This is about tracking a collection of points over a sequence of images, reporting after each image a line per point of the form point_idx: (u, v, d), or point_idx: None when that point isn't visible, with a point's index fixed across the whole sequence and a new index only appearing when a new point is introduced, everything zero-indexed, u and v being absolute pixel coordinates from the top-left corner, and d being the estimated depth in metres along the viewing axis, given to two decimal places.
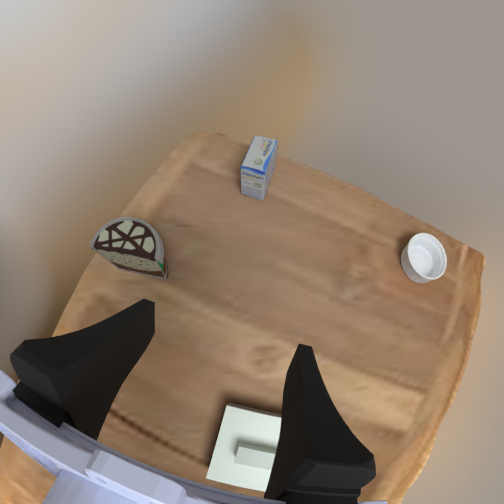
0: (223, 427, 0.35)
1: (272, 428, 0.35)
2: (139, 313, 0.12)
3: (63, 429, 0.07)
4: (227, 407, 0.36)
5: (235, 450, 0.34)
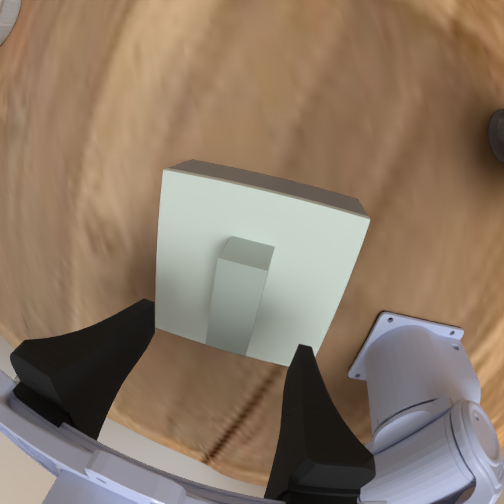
0: (195, 337, 0.21)
1: (181, 255, 0.18)
2: (139, 313, 0.12)
3: (63, 429, 0.07)
4: (158, 326, 0.21)
5: None
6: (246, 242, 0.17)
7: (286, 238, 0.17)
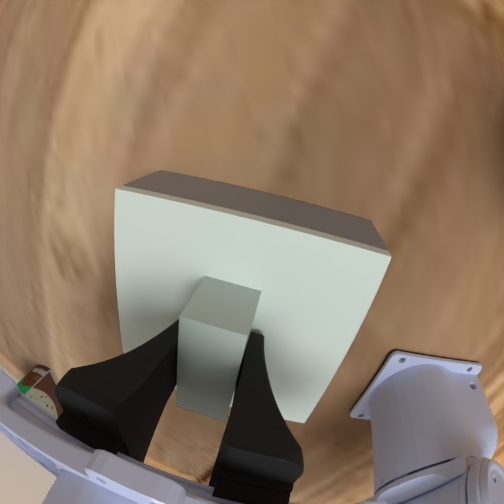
0: None
1: (145, 296, 0.14)
2: None
3: (63, 429, 0.07)
4: None
5: None
6: (223, 286, 0.12)
7: (277, 280, 0.12)
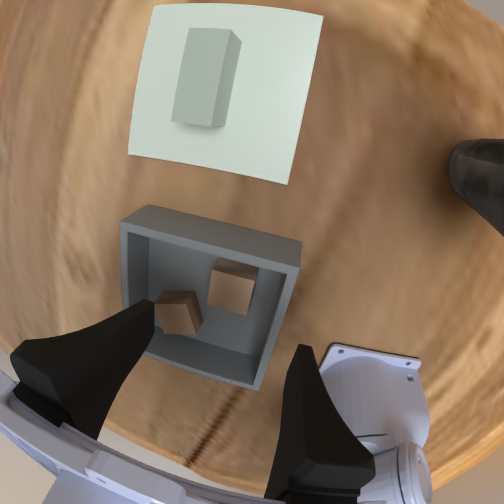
0: (166, 154, 0.20)
1: (161, 66, 0.17)
2: (139, 313, 0.12)
3: (63, 429, 0.07)
4: (130, 152, 0.20)
5: (210, 126, 0.18)
6: None
7: (252, 34, 0.15)
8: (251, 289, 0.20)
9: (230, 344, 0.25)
